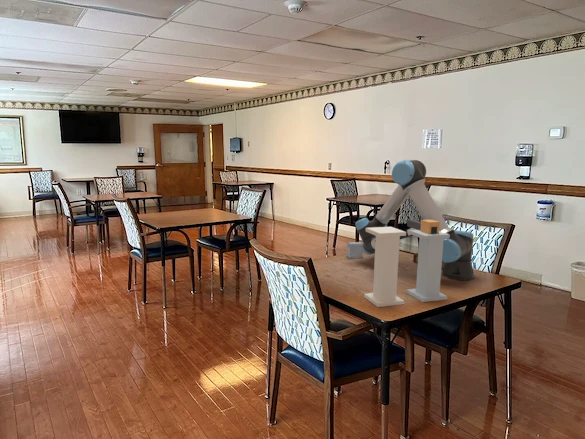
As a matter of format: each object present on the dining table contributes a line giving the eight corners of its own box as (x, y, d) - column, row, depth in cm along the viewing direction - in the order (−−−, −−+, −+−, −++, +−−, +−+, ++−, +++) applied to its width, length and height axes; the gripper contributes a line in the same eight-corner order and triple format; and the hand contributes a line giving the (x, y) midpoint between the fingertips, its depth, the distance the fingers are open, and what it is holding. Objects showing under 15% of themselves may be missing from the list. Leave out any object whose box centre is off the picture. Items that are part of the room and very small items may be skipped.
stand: (387, 293, 190) (390, 226, 185) (403, 304, 177) (408, 232, 172) (362, 295, 187) (365, 227, 181) (377, 307, 174) (381, 234, 169)
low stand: (428, 289, 196) (432, 229, 192) (446, 299, 184) (452, 235, 179) (405, 291, 193) (408, 230, 188) (422, 302, 180) (427, 236, 175)
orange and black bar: (414, 225, 199) (415, 215, 198) (438, 233, 182) (439, 221, 181) (405, 226, 197) (405, 215, 196) (428, 234, 180) (429, 222, 179)
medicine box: (359, 256, 253) (360, 241, 252) (362, 258, 249) (363, 243, 248) (346, 256, 252) (347, 242, 250) (349, 258, 247) (350, 244, 246)
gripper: (403, 247, 226) (427, 235, 207) (361, 250, 218) (382, 238, 199) (400, 233, 228) (423, 221, 209) (358, 235, 220) (378, 223, 201)
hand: (403, 229), depth 204 cm, fingers open, 13 cm apart
